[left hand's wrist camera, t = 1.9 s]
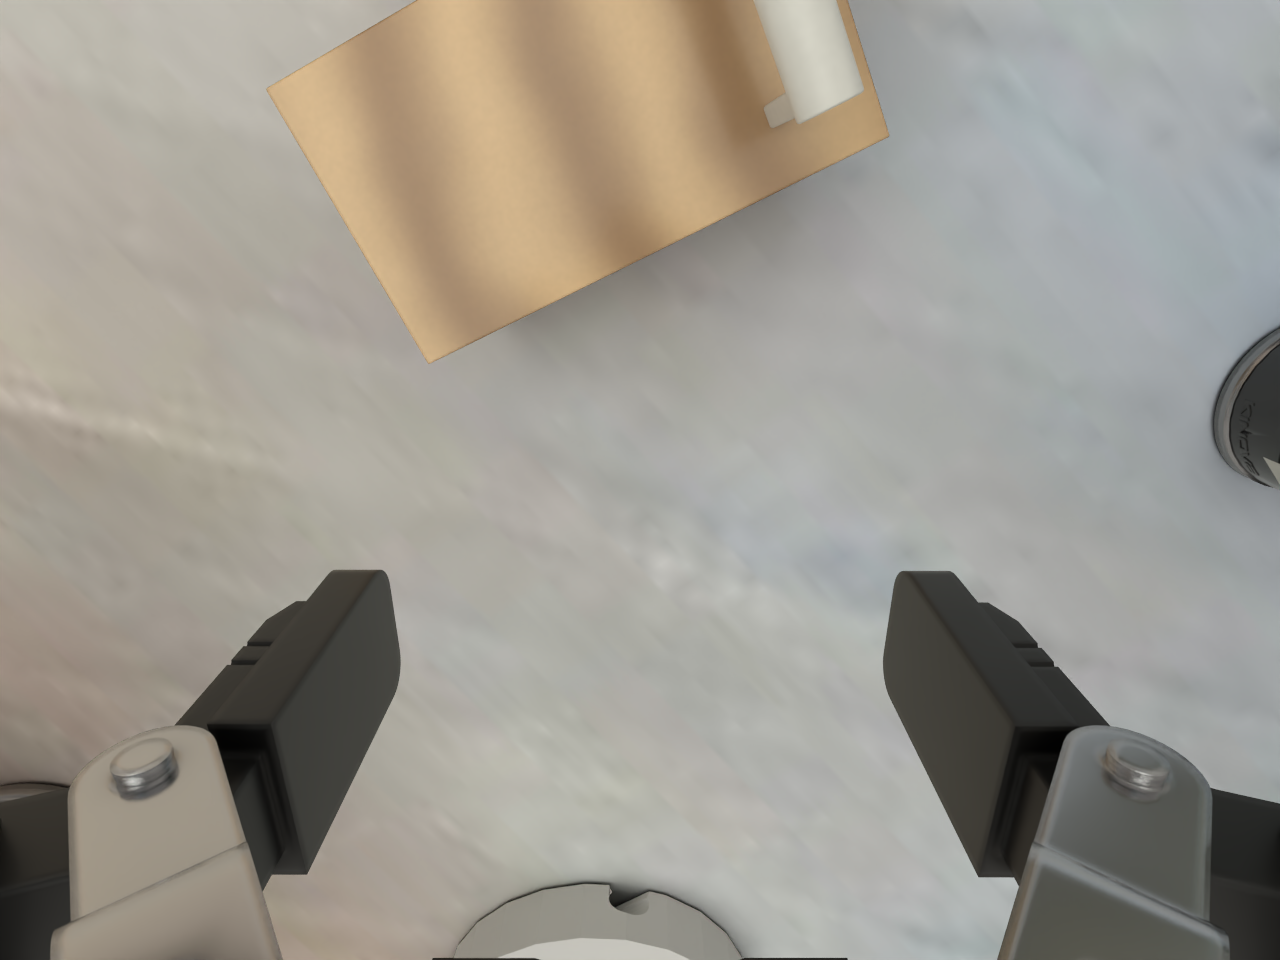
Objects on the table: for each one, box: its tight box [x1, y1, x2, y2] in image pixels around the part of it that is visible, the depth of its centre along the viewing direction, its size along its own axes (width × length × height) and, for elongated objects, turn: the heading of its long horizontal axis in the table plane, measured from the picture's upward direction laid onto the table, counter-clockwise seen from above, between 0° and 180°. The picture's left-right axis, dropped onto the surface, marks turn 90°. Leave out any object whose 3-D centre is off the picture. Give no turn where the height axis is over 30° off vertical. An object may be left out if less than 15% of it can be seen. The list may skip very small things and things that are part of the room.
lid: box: [266, 0, 889, 364], centre depth 20 cm, size 17×10×8 cm, turn 115°
